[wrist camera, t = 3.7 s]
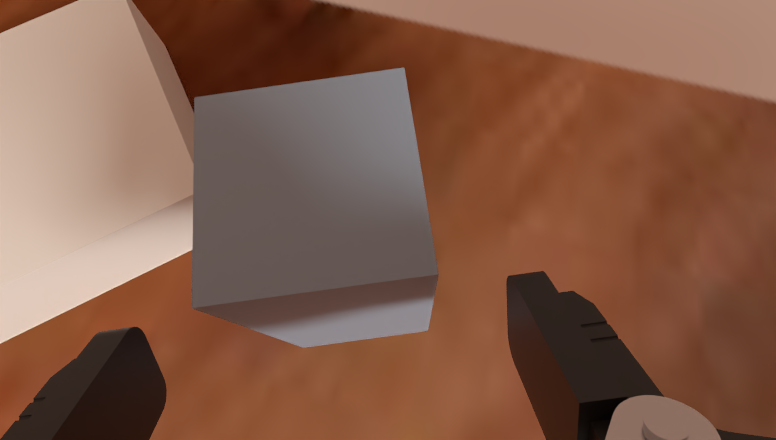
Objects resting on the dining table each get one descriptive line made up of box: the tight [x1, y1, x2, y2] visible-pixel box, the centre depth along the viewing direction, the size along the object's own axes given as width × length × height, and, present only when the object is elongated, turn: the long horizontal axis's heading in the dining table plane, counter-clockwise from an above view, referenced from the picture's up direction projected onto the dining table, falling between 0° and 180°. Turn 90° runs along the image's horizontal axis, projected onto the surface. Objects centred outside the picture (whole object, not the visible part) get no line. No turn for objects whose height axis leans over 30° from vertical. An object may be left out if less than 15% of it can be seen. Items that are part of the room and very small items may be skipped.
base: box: [0, 0, 194, 343], centre depth 20 cm, size 11×11×4 cm
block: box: [192, 68, 438, 348], centre depth 15 cm, size 5×5×10 cm
